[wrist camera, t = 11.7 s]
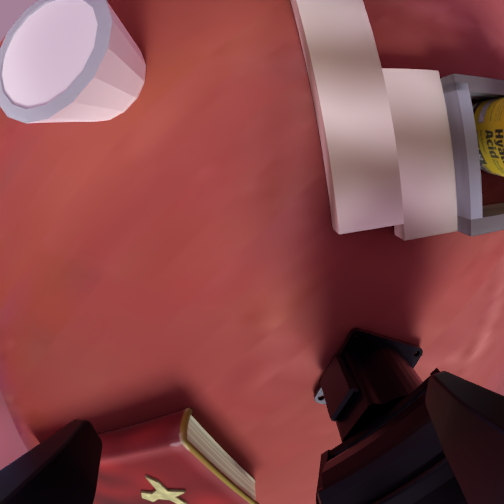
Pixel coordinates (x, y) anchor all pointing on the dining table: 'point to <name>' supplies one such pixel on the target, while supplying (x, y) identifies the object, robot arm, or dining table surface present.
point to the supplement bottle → (490, 134)
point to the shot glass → (69, 64)
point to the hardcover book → (169, 465)
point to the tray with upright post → (392, 132)
